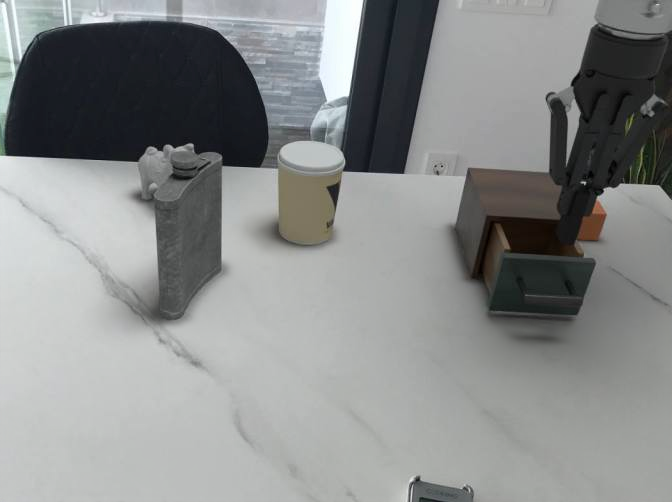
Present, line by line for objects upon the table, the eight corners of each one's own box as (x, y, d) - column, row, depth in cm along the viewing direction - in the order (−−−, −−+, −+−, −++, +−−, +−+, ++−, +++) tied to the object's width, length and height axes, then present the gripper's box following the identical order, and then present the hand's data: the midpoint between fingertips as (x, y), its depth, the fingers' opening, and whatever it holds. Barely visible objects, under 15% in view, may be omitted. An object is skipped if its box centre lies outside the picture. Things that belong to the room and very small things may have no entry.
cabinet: (561, 284, 106) (583, 221, 100) (470, 278, 106) (486, 215, 100) (537, 232, 117) (554, 172, 111) (454, 227, 117) (467, 167, 111)
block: (589, 226, 120) (598, 200, 117) (598, 240, 117) (607, 214, 114) (561, 224, 120) (569, 198, 117) (569, 239, 116) (577, 212, 114)
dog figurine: (185, 227, 112) (183, 157, 105) (134, 195, 119) (129, 127, 112) (214, 217, 115) (214, 148, 108) (162, 185, 122) (159, 119, 115)
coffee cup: (338, 249, 110) (348, 169, 102) (273, 246, 109) (277, 165, 102) (335, 218, 117) (343, 141, 109) (273, 215, 117) (277, 138, 109)
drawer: (588, 338, 95) (608, 284, 90) (496, 333, 95) (511, 279, 90) (551, 261, 109) (567, 211, 104) (471, 256, 109) (483, 205, 104)
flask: (150, 314, 95) (141, 176, 83) (200, 260, 105) (198, 131, 94) (177, 322, 94) (172, 183, 83) (224, 266, 105) (226, 136, 93)
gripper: (577, 36, 74) (517, 252, 89) (711, 43, 74) (629, 257, 89) (556, 14, 80) (504, 221, 95) (681, 21, 80) (608, 226, 95)
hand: (564, 238), depth 92 cm, fingers closed
